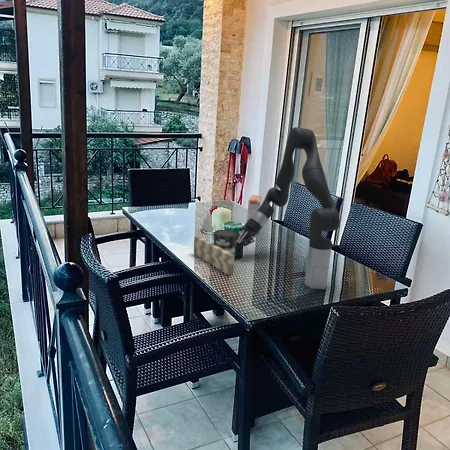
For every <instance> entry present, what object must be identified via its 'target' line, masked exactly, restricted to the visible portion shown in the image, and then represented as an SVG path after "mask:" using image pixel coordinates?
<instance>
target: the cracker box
mask: <svg viewBox="0 0 450 450" xmlns="http://www.w3.org/2000/svg"><path fill="white" fill-rule="evenodd" d="M247 204H248V205H247V215H246V222H247V221H248V220H249V219H250V218H251V216H252V215H253V214H254V213H255V212H256V211H257V210H258V209H259V207H260V206H261V205H262V195H256V194H252V195H251V196H250V198H249V199H248V203H247ZM256 236H257V235H255V236H254V237H256ZM254 237H253V238H254Z"/></svg>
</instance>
